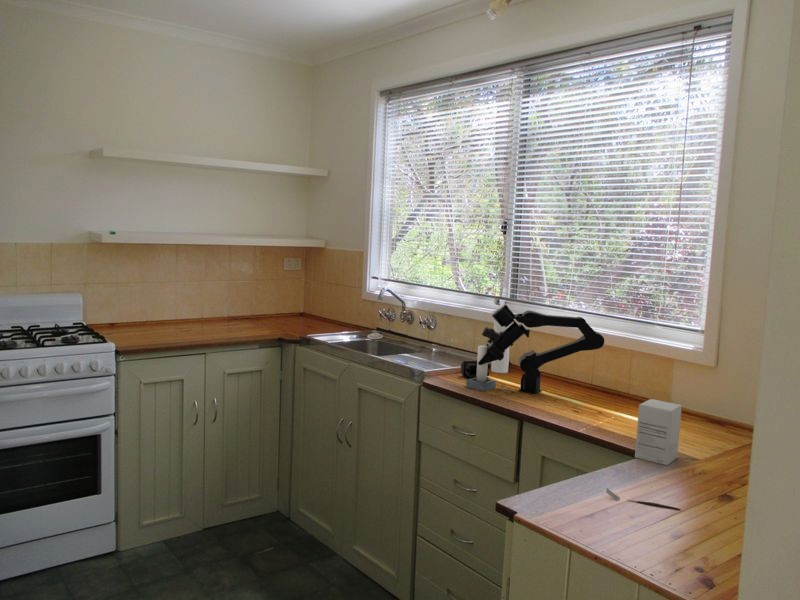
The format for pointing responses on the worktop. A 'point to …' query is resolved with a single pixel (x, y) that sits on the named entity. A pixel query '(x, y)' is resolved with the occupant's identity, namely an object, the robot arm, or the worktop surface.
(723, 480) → the worktop surface
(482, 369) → the white tapered peg
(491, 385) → the square frame
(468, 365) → the end cap
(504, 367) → the cylindrical container
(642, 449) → the supplement box
